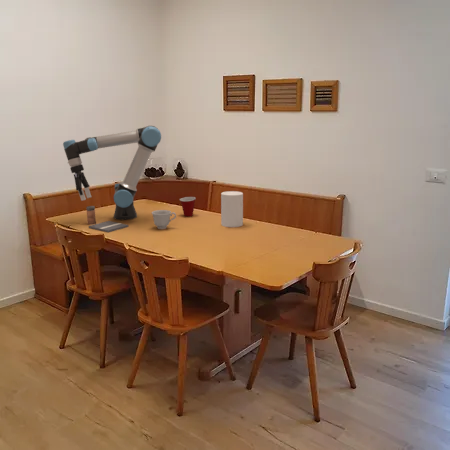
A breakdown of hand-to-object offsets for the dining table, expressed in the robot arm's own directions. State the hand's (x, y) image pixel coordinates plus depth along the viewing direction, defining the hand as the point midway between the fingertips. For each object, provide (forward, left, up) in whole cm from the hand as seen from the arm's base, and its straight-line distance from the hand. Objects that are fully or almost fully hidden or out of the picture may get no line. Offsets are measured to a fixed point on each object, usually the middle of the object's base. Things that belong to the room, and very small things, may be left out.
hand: (86, 198), depth 301 cm
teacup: (-23, +43, -17) cm, 52 cm away
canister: (-54, +72, -17) cm, 92 cm away
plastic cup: (-56, +34, -17) cm, 68 cm away
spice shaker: (-4, -2, -17) cm, 17 cm away
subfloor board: (-4, +14, -17) cm, 22 cm away
